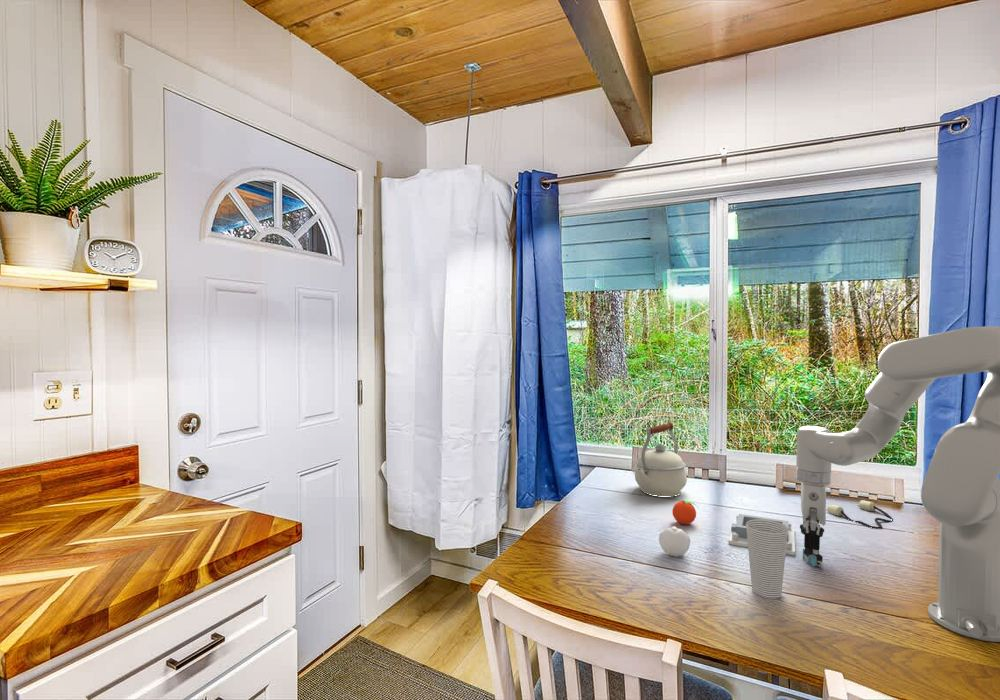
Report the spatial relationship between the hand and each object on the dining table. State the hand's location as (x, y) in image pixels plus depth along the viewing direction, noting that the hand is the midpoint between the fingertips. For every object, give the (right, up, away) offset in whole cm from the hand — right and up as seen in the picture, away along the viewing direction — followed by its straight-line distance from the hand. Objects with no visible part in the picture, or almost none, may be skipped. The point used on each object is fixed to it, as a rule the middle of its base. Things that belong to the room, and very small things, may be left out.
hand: (810, 541), depth 129 cm
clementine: (-22, -5, +27) cm, 35 cm away
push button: (0, -6, 0) cm, 6 cm away
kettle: (-21, -4, +57) cm, 61 cm away
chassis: (-4, -5, +16) cm, 17 cm away
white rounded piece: (-33, -6, +6) cm, 34 cm away
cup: (-19, -7, -14) cm, 24 cm away
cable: (+36, -4, +30) cm, 47 cm away
